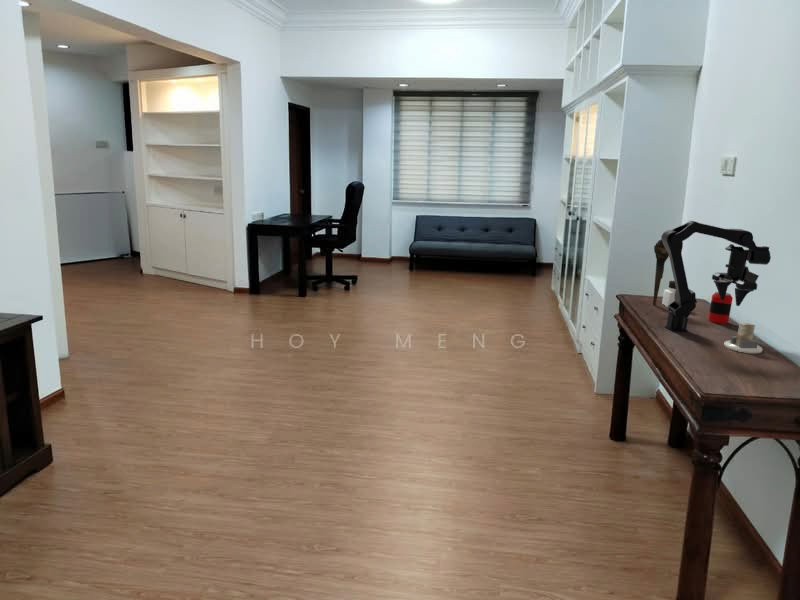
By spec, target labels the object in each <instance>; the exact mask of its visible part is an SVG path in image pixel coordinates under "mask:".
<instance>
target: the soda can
mask: <svg viewBox="0 0 800 600" xmlns="http://www.w3.org/2000/svg"><path fill="white" fill-rule="evenodd" d="M710 301H711V302H710V306H709V312H708V318H707V320H708V322H711V323H715V324H722V325H724V324H728V323H729V320H730V316H731V315H730V314H731V309H732V304H733V296H732V295H731V293H729V292H726V295H725V299H724V300H721V298H720V295H719V292H718V291H715V292H714V293H713V294H711V300H710Z"/></svg>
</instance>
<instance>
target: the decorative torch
mask: <svg viewBox="0 0 800 600" xmlns="http://www.w3.org/2000/svg"><path fill="white" fill-rule="evenodd" d="M653 252H654V254H655V258H656V262H655V263H656V264H655V265H656V266H655V274H654V275H655V277H654V286H653V288H654V289H653V290H654V291H653V300H652V305H653V306H656V305H657V299H658V295H659V291H660V286H661V281H662V279H663V275H664V271H665V263H666V261H668V258H669V254H668V252H667V250H666V249H665V247H664V244H663V242H662V239H659V240H658V241H656V243H655V245H654V247H653Z"/></svg>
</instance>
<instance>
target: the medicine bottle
mask: <svg viewBox="0 0 800 600" xmlns="http://www.w3.org/2000/svg"><path fill="white" fill-rule="evenodd" d="M675 291H676V287H675V282H674V279H671V280H669V282H668V289H667V288H666V289H664V290H663V295H662V303H661V304H662V305H663V304H664V305H665V306H664V305H663V306H664V307H665V308H668V305H670V304H671V303H672V302H674V301H675Z"/></svg>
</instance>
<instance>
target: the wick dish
mask: <svg viewBox="0 0 800 600" xmlns="http://www.w3.org/2000/svg"><path fill="white" fill-rule="evenodd" d="M736 340H737V335H735V336H733V335H732V336H731V337H730V340H724V342H723V346H724V347H725V348H727V349H729V350H730V351H734V352H737V351H738V352H737V353H742V352H743V353H744V354H762V353H763V347H762V346H760V345H759V344H758V343H759V341H758V340H753V339H752V340H740V343H739V346H738V345H736Z"/></svg>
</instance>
